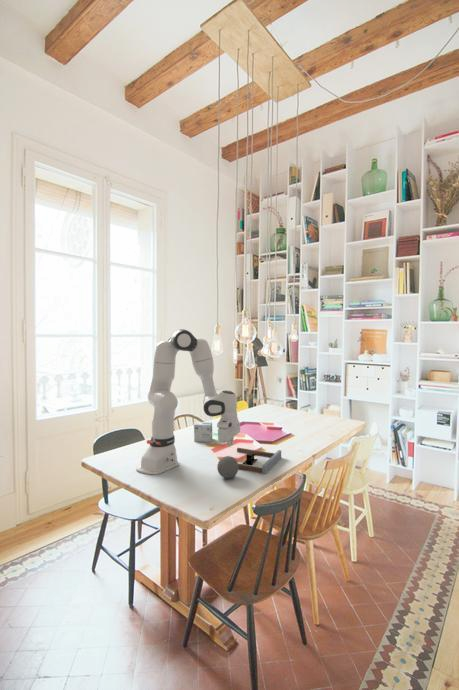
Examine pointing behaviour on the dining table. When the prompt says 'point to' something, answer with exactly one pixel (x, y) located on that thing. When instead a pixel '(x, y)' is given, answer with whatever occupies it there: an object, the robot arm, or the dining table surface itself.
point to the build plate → (250, 459)
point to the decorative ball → (227, 467)
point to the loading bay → (265, 467)
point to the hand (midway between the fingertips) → (230, 445)
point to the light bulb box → (203, 432)
